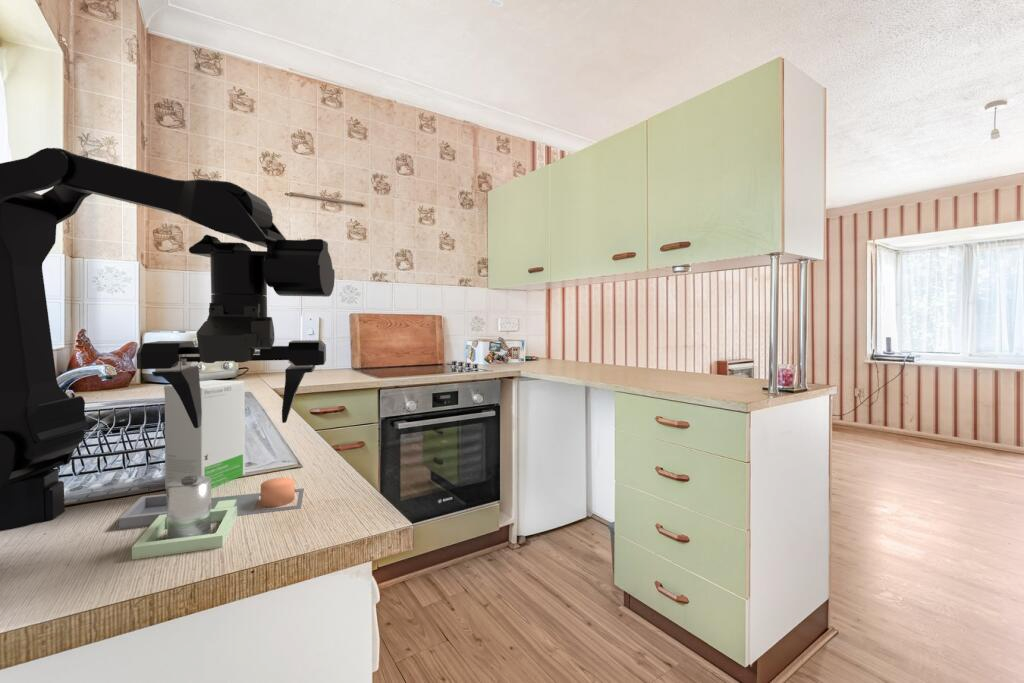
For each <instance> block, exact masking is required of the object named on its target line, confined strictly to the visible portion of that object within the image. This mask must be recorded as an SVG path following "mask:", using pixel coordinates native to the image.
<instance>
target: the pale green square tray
mask: <svg viewBox="0 0 1024 683" xmlns="http://www.w3.org/2000/svg"><path fill="white" fill-rule="evenodd" d="M237 518H238V516H237V506H236V507H227V508H218V509H211V523H214V522H215V523H216V522H221V523H220V524H219V527H218V528H217V530H216V532H215V533H210V534H207V535H199V536H191V537H183V538H175V539H168V540H167V539H161V540H157V539H158V538H160V536H161V535H162V533H163V532H164V530H165V529H167V514H164V515H159V516H158V517H157V519H156V520H155V521H154V522H153V523H152V524H151V526H148V527H147V529H146V530H145V531H144V532H143V533H142V535H141V536H140V537H139V538H138V539H137V540H136V542H135V543H134V544H133V545H132V546H131V560H132V561H134V560H138V559H139V560H140V559H145V558H153V557H160V556H162V557H163V556H167V555H175V554H182V553H188V552H189V553H190V552H198V551H203V550H210V549H211V550H212V549H217V548H223V547H224V545H225V543H226V541H227V539H228V536H229V535H230V533H231V531H232V528H233V525H235V521H236V519H237Z"/></svg>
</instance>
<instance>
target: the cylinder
mask: <svg viewBox="0 0 1024 683" xmlns="http://www.w3.org/2000/svg"><path fill="white" fill-rule="evenodd" d="M294 489H295V479H294V478H290V477H276V478H271V479H268V480H264V481H263V482H262V483H261V484H260V493H261V496H260V505H261V506H263V507H265V508H279V507H284V506H286V505H289V504H291V503H293V502H294V501H295V492H294Z"/></svg>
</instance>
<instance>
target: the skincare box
mask: <svg viewBox="0 0 1024 683" xmlns="http://www.w3.org/2000/svg"><path fill="white" fill-rule="evenodd" d="M245 383H246V381H245V380H221V379H219V380H218V379H217V380H215V379H209V380H200V394H201V408H202V417H201V426H200V427H199V428H194V426H193V424H192V422H191V420H190V418H189V416H188V414H187V412H186V409H185V407H184V405H183V403H182V401H181V399H180V397H179V395H178V394H177V392H176V391H175V389H174V388H173V386H172V385H171V384H166V385H164V386H163V390H164V447H165V448H164V460H165V461H164V463H165V464H164V472H165V473H164V488H165V490H167V484H168V483H170V482H172V481H175V480H178V479H181V478H184V477H187V476H206V477H209V478H211V490H213V489H214V488H217V487H220V486H222V485H224V484H226V483H228V482H229V483H230V482H231V481H233V480H235V479H237V478H240V477H243V476H244V475H246V428H245V427H246V426H245V425H246V410H245V409H246V405H245V403H246V399H245V398H246V394H245V392H246V390H245V389H246V388H245V387H246V386H245V385H246V384H245Z"/></svg>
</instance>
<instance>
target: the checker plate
mask: <svg viewBox="0 0 1024 683" xmlns="http://www.w3.org/2000/svg"><path fill="white" fill-rule="evenodd" d="M304 491H305V488H294V493H299V494H298V498H297V503H296V504H297V505H291V506H290V505H289V506H279V507H270V508H263V509H256V510H255V507H256V506H257V503H258V500H259V499H260V497H261V492H256V493H246V494H236V495H235V494H234V495H229V496H227V495H226V496H218V497H217V496H215V497H211V509H218V508H227V507H236V506H237V517H240V516H249V515H258V514H265V513H266V514H267V513H273V512H283V511H289V510H301V509H302V504H303V498H304V497H303V496H304ZM164 514H167V493H164V494H163V493H161V494H153V495H143V496H141V497H139V498H138V499H137V500H136V501H135V502H134V503H133V504H132V505H131V506H130V507H129V508H128V509H127V510H126V511H125V512H124V513H122V515H120V516H119V517H118V527H117V528H116V529H115V530H116V531H122V530H129V529H137V528H149V527H150V526H151V524H152V523H153V522H154V521H155V520H156V519H157V517H158V516H159V515H164Z"/></svg>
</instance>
